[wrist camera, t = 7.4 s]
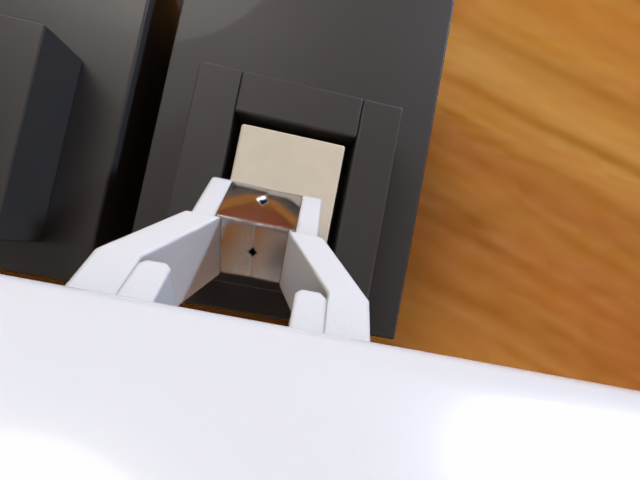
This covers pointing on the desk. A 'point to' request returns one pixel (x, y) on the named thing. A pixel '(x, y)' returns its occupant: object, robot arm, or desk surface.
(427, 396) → the robot arm
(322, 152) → the low key
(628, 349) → the desk surface
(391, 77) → the low key box
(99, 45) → the high key box
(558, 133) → the desk surface
